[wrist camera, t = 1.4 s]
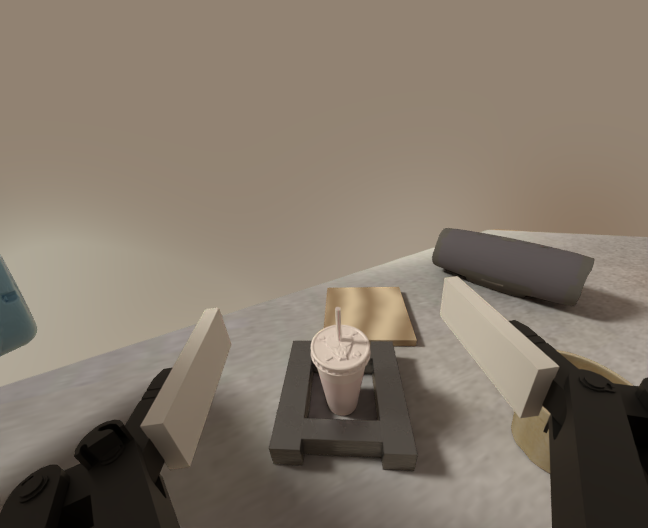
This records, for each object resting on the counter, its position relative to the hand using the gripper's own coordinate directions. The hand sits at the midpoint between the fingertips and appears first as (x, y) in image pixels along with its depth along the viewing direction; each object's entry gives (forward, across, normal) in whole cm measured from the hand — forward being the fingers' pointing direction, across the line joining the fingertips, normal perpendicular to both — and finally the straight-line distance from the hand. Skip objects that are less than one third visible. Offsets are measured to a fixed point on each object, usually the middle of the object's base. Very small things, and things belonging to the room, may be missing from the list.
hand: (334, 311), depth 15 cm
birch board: (+24, +7, -20) cm, 32 cm away
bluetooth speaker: (+29, +34, -21) cm, 49 cm away
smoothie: (+9, 0, -20) cm, 22 cm away
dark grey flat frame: (+9, 0, -20) cm, 22 cm away
